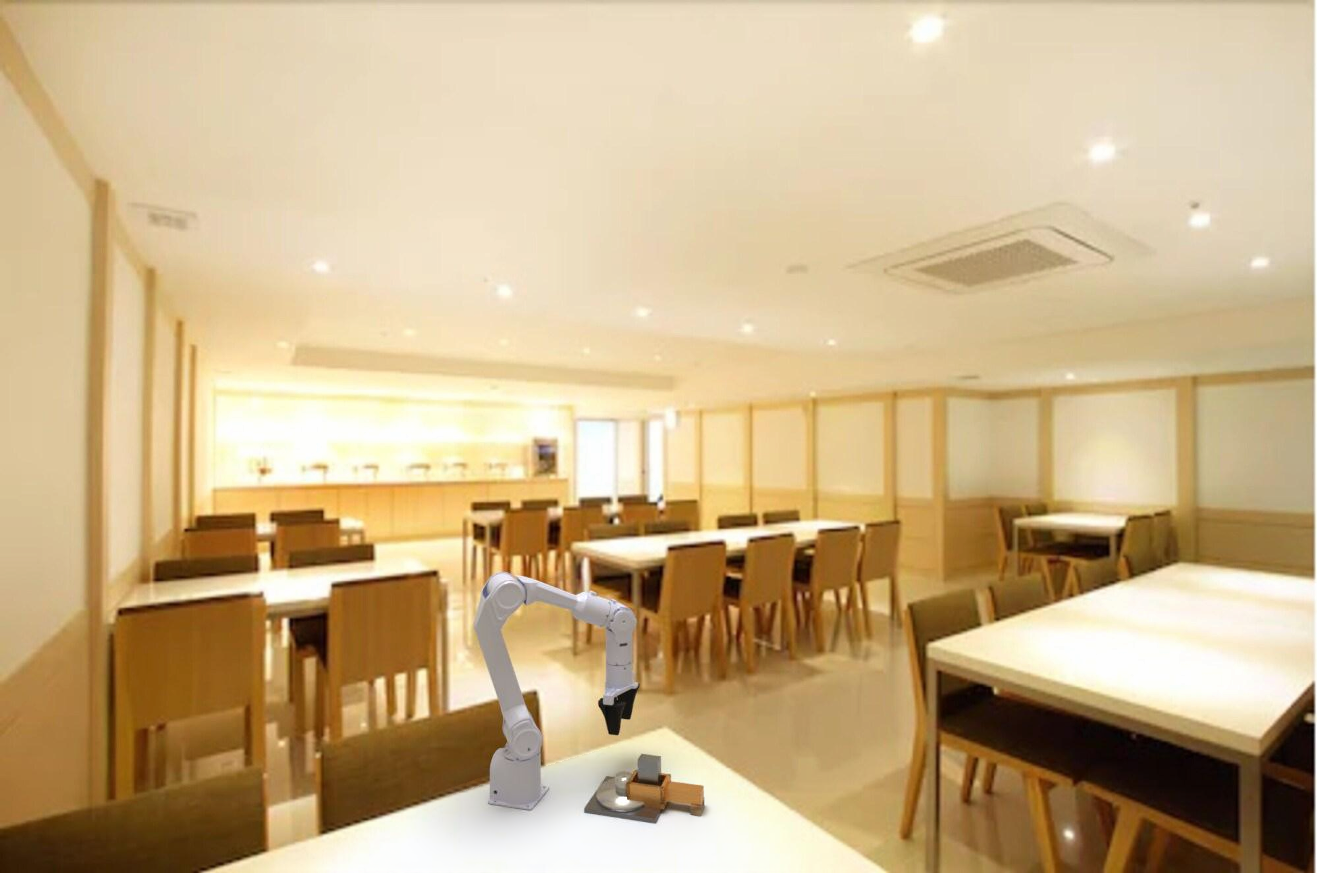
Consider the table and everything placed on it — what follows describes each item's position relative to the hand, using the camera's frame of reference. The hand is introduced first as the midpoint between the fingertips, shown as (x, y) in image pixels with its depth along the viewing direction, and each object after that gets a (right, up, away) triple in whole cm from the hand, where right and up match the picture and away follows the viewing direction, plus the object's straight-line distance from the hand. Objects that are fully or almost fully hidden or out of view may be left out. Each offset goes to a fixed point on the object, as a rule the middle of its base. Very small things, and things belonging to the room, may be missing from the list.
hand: (619, 726), depth 130 cm
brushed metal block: (+6, -8, -11) cm, 15 cm away
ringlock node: (+6, -9, -11) cm, 16 cm away
